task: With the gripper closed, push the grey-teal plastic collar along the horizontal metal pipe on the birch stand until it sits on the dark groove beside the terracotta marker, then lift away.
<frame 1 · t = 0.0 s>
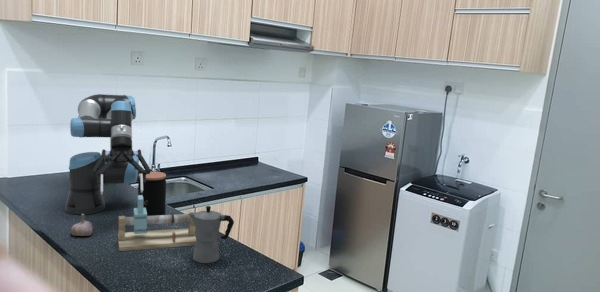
hand: (122, 192, 171), 15 cm above the counter, tool tilted 35°, fingers open, 13 cm apart
collar: (140, 213, 164), point 11 cm above the counter, slide at -6.0 cm
coffeepot: (209, 258, 157), on the counter
garlic bulb: (82, 235, 168), on the counter
pipe stand: (157, 240, 168), on the counter
coffee jar: (151, 218, 191), on the counter
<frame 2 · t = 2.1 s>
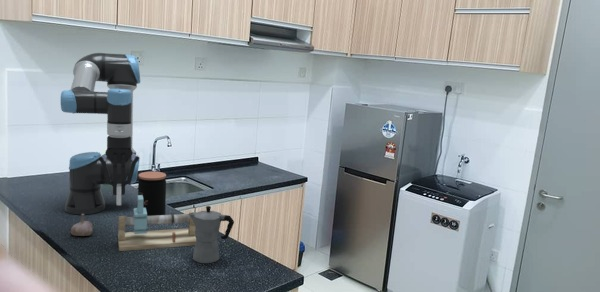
hand: (118, 203, 160), 15 cm above the counter, tool pointing down, fingers closed
nothing on the counter moved.
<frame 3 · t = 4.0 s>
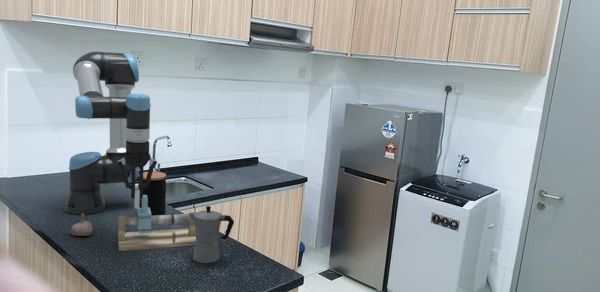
hand: (136, 207, 163), 13 cm above the counter, tool pointing down, fingers closed
collar: (144, 213, 164), point 11 cm above the counter, slide at -4.6 cm, touching gripper
everything else where it was.
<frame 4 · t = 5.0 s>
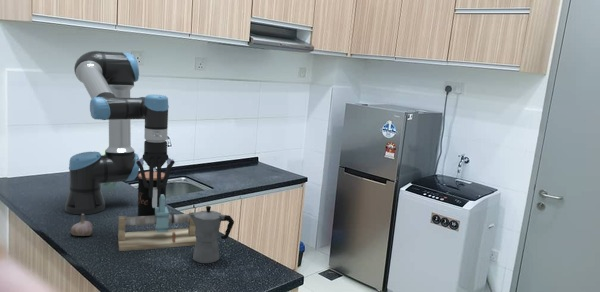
hand: (154, 206, 165), 13 cm above the counter, tool pointing down, fingers closed
collar: (161, 212, 166), point 11 cm above the counter, slide at 1.3 cm, touching gripper
everything else where it was.
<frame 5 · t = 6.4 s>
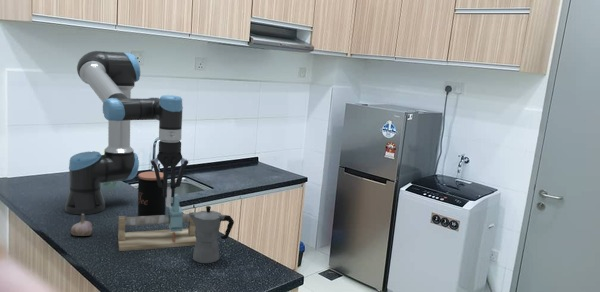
hand: (168, 205, 167), 13 cm above the counter, tool pointing down, fingers closed
collar: (175, 212, 168), point 11 cm above the counter, slide at 6.0 cm, touching gripper
everything else where it was.
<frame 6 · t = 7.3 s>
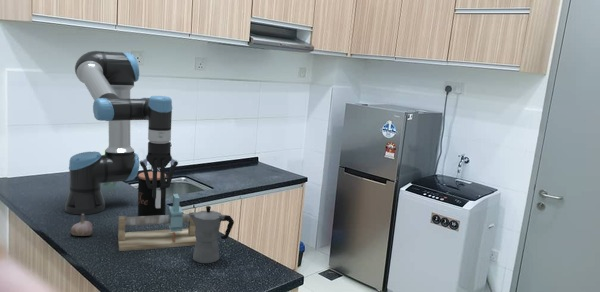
hand: (157, 206, 166), 13 cm above the counter, tool pointing down, fingers closed
collar: (175, 212, 168), point 11 cm above the counter, slide at 6.0 cm
everything else where it was.
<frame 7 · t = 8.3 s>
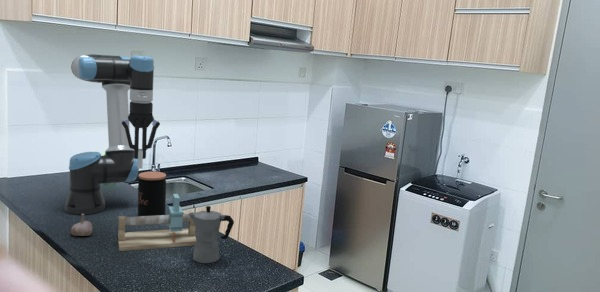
hand: (139, 167, 167), 26 cm above the counter, tool pointing down, fingers closed
nothing on the counter moved.
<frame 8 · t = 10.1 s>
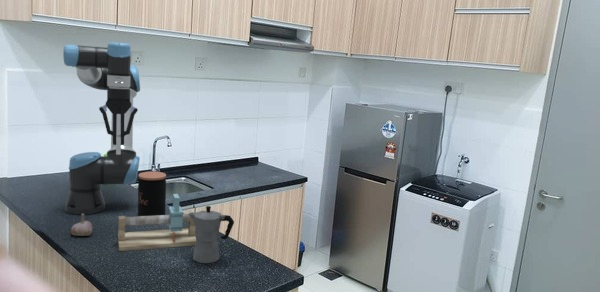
hand: (118, 153, 168), 29 cm above the counter, tool pointing down, fingers closed
nothing on the counter moved.
at the end: collar slide at 6.0 cm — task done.
